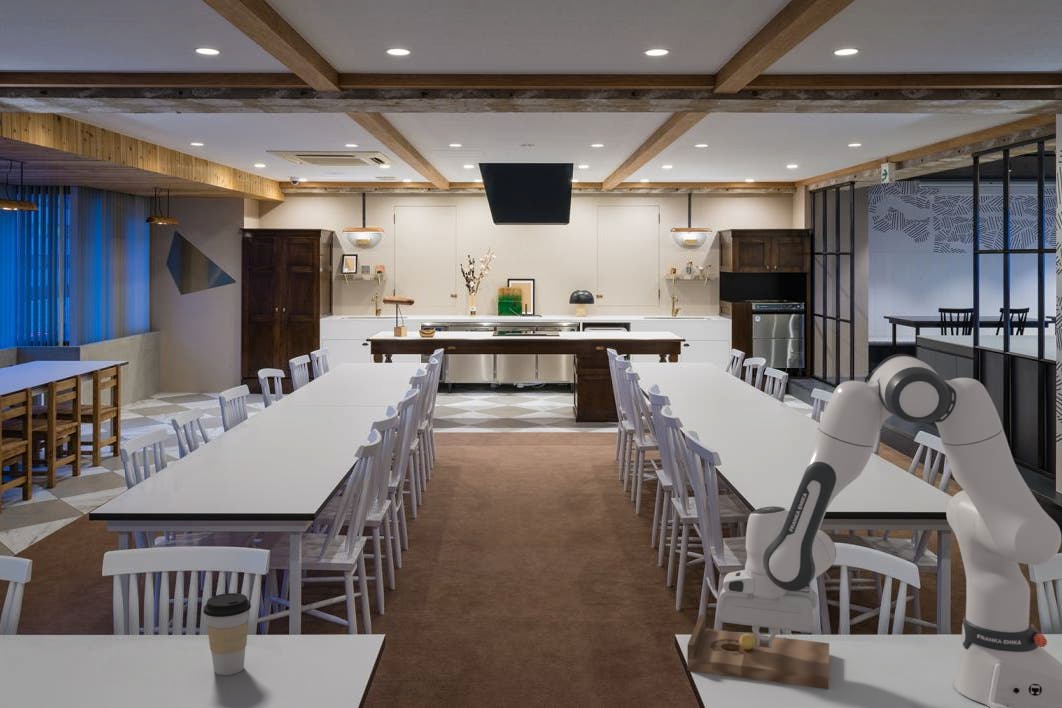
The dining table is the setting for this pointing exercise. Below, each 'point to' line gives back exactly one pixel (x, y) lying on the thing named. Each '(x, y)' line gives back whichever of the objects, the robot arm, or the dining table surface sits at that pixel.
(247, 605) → the coffee cup
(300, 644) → the dining table surface
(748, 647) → the ball
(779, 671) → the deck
